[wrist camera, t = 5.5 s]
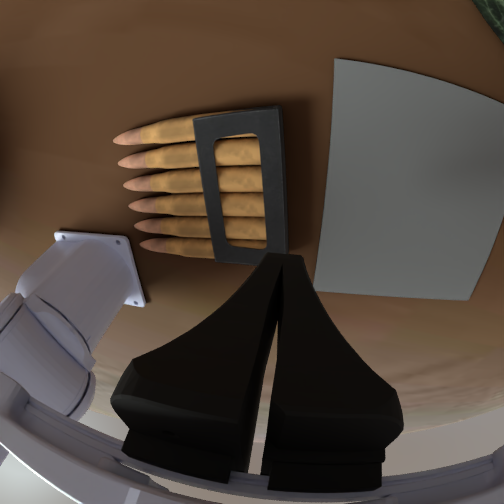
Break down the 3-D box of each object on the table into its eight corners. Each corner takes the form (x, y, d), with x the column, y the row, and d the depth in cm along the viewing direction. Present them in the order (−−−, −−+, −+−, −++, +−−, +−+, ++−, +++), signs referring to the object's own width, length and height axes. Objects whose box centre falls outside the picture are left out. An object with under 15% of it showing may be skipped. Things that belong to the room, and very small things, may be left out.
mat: (312, 287, 23) (312, 290, 23) (334, 58, 14) (335, 58, 14) (466, 297, 21) (468, 300, 21) (522, 113, 12) (525, 114, 12)
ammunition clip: (285, 269, 20) (137, 260, 23) (288, 254, 22) (148, 248, 24) (277, 107, 15) (103, 131, 17) (281, 105, 16) (118, 126, 19)
